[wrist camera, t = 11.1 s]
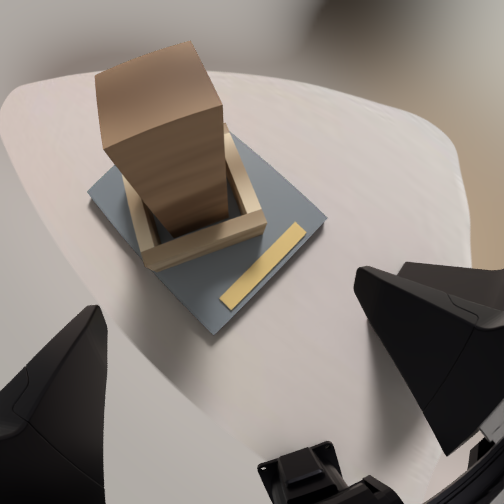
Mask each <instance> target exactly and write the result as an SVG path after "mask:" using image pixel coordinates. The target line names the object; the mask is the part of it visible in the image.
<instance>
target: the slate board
mask: <svg viewBox="0 0 504 504" xmlns="http://www.w3.org/2000/svg"><path fill="white" fill-rule="evenodd" d="M229 132H230V131H229ZM230 134H231V137H232V139H233V141H234V144H235V146H236V148H237V151H238V153H239V155H240V158H241V160H242V162H243V165H244V167H245V170H246V172H247V174H248V177H249V179H250V182H251V184H252V186H253V189H254V191H255V194H256V196H257V198H258V201H259V203H260V206H261V208H262V211H263V213H264V216H265V218H266V221H267V225H266V228H265V230H264V233H263V235H260V236H257V237H254V238H251V239H248V240H246V241H243V242H240V243H237V244H234V245H232V246H229V247H226V248H223V249H220V250H218V251H215V252H212V253H209V254H206V255H204V256H201V257H198V258H195V259H193V260H190V261H187V262H184V263H181V264H179V265H176V266H173V267H170V268H168V269H165V270H162V271H160V272H155V271H153V270H152V271H153V272H154V274H155V275H156V276H157V277H158V278H159V279H160V280H161V281H162V282H163V283H164V285H165V286H166V287H167V288H168V289H169V290H170V291H171V292H172V293H173V294H174V295H175V296H176V297H177V299H178V300H179V301H180V302H181V303H182V304H183V305H184V306H185V307H186V308H187V309H188V310H189V311H190V312H191V313H192V314H193V315H194V316H195V317H196V318H197V319H198V320H199V321H200V322H201V323H202V324H203V325H204V326H205V327H206V328H207V329H208V330H209V331H210V332H211V333H212V334H213V335H215V334H216V333H217V332H218V331H219V330H220V329H221V328H222V327H223V326H224V325H225V324H226V323H227V322H228V321H229V320H230V319H231V318H232V317H233V316H234V315H235V314H236V313H237V312H238V311H239V310H240V309H241V308H242V307H243V306H244V305H245V304H246V303H247V302H248V301H249V300H250V299H251V298H252V297H253V296H254V295H255V294H256V293H257V292H258V291H259V290H260V289H261V288H262V286H263V285H264V284H265V283H266V282H267V281H268V280H269V279H270V278H271V277H272V276H273V275H274V274H275V273H276V272H277V271H278V270H279V269H280V268H281V267H282V266H283V265H284V264H285V263H286V262H287V261H288V260H289V259H290V257H291V256H292V255H293V254H294V253H295V252H296V251H297V250H298V249H299V248H300V247H301V246H302V245H303V244H304V243H305V242H306V241H307V240H308V238H309V237H310V236H311V235H312V234H313V233H314V232H315V231H316V230H317V229H318V228H319V227H320V226H321V225H322V224H323V222H324V221H325V220H326V219H327V217H326V216H325V215H324V214H323V213H322V212H321V211H320V210H319V209H318V208H317V207H316V206H315V205H314V204H313V203H311V202H310V201H309V200H308V199H307V198H306V197H305V196H304V195H303V194H302V193H301V192H300V191H298V190H297V189H296V188H295V187H294V186H293V185H292V184H291V183H290V182H289V181H287V180H286V179H285V178H284V177H283V176H282V175H281V174H280V173H278V172H277V171H276V170H275V169H274V168H273V167H272V166H270V165H269V164H268V163H267V162H266V161H265V160H263V159H262V158H261V157H260V156H259V155H258V154H256V153H255V152H254V151H253V150H252V149H250V148H249V147H248V146H247V145H246V144H244V143H243V142H242V141H241V140H240V139H238V138H237V137H236V136H235V135H233V134H232V133H231V132H230ZM226 181H227V197H228V213H229V218H227V219H224V220H221V221H219V222H216V223H213V224H210V225H208V226H205V227H202V228H200V229H197V230H195V231H192V232H189V233H187V234H184V235H182V236H179V237H176V238H173V237H172V235H171V234H170V233H169V232H168V231H167V229H166V228H165V227H164V226H163V225H162V223H161V222H160V221H159V220H158V218H157V217H156V216H155V215H154V214H153V216H154V220H155V223H156V227H157V230H158V234H159V237H160V241H161V244H164V243H166V242H169V241H172V240H174V239H177V238H180V237H183V236H185V235H188V234H191V233H194V232H196V231H199V230H202V229H205V228H208V227H210V226H213V225H216V224H219V223H222V222H225V221H228V220H230V219H233V218H236V217H239V216H241V213H240V210H239V208H238V205H237V203H236V200H235V197H234V195H233V192H232V190H231V187H230V184H229V182H228V179H227V177H226ZM87 193H88V194H89V195H90V196H91V198H92V199H93V200H94V202H95V203H96V204H97V206H98V207H99V208H100V209H101V211H102V212H103V213H104V214H105V216H106V217H107V218H108V219H109V221H110V222H111V223H112V224H113V226H114V227H115V228H116V229H117V231H118V232H119V233H120V234H121V235H122V237H123V238H124V239H125V240H126V241H127V243H128V244H129V245H130V246H131V247H132V248H133V250H134V251H135V252H136V253H137V254H138V255H139V257H140V258H141V259H142V255H141V252H140V248H139V245H138V241H137V237H136V233H135V229H134V226H133V222H132V217H131V213H130V209H129V205H128V200H127V196H126V191H125V187H124V182H123V177H122V173H121V172H120V171H119V169H118V168H117V167H116V166H115V165H114V166H113V167H112V168H111V169H110V170H109V171H108V172H107V173H106V174H105V175H104V176H102V177H101V178H100V179H99V180H98V181H97V182H96V183H95V184H94V185H93V186H92V187H91V188H90V189H89V190H88V191H87ZM152 213H153V212H152ZM142 260H143V259H142Z"/></svg>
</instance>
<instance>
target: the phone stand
mask: <svg viewBox="0 0 504 504" xmlns="http://www.w3.org/2000/svg"><path fill="white" fill-rule="evenodd" d="M397 276H399V277H402V278H405V279H408V280H411V281H414V282H416V283H419V284H422V285H425V286H428V287H431V288H433V289H436V290H439V291H442V292H445V293H446V294H450V295H453V296H456V297H459V298H462V299H464V300H467V301H471V302H474V303H477V304H480V305H483V306H487V307H490V308H493V309H497V310H500V311H504V269H502V270H492V271H491V270H482V269H472V268H462V267H453V266H443V265H433V264H423V263H413V262H405V263H404V265H403V267H402V268H401V270H400V271H399V273H398V274H397Z"/></svg>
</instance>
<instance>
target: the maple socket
mask: <svg viewBox="0 0 504 504" xmlns="http://www.w3.org/2000/svg"><path fill="white" fill-rule="evenodd" d="M223 125H224V145H225V163H226V177H227V179H228V182H229V184H230V187H231V190H232V192H233V195H234V197H235V200H236V203H237V205H238V208H239V210H240V213H241V216H239V217H236V218H233V219H230V220H228V221H225V222H222V223H219V224H216V225H213V226H210V227H208V228H205V229H202V230H199V231H196V232H194V233H191V234H188V235H185V236H183V237H180V238H177V239H174V240H172V241H169V242H166V243H164V244H161V241H160V237H159V234H158V230H157V227H156V223H155V220H154V216H153V213H152V211H151V210H150V209H149V207H148V206H147V205H146V204H145V202H144V201H143V200H142V199H141V197H140V196H139V195H138V194H137V192H136V191H135V190H134V189H133V187H132V186H131V185H130V184H129V182H128V181H127V180H126V178H125V177H124V176H123V175H122V177H123V182H124V187H125V191H126V196H127V200H128V205H129V209H130V213H131V217H132V222H133V226H134V229H135V233H136V237H137V241H138V245H139V248H140V252H141V255H142V259H143V262H144V266H145V267H146V268H148V269H150V270H153V271H155V272H160V271H162V270H165V269H168V268H170V267H173V266H176V265H179V264H181V263H184V262H187V261H190V260H193V259H195V258H198V257H201V256H204V255H206V254H209V253H212V252H215V251H218V250H220V249H223V248H226V247H229V246H232V245H234V244H237V243H240V242H243V241H246V240H248V239H251V238H254V237H257V236H260V235H263V233H264V230H265V228H266V225H267V221H266V218H265V216H264V213H263V211H262V208H261V206H260V203H259V201H258V198H257V196H256V194H255V191H254V189H253V186H252V184H251V182H250V179H249V177H248V174H247V172H246V170H245V167H244V165H243V162H242V160H241V158H240V155H239V153H238V151H237V148H236V146H235V144H234V141H233V139H232V137H231V134H230V132H229V130H228V127H227V125H226V123H223Z"/></svg>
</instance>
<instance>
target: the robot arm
mask: <svg viewBox="0 0 504 504" xmlns="http://www.w3.org/2000/svg"><path fill="white" fill-rule="evenodd" d="M354 292H355V295H356V297H357V299H358V300H359V302H360V304H361V306H362V308H363V310H364V312H365V314H366V316H367V318H368V320H369V322H370V324H371V326H372V327H373V329H374V331H375V332H376V334H377V335H378V337H379V339H380V340H381V342H382V343H383V345H384V347H385V348H386V350H387V352H388V353H389V355H390V356H391V358H392V360H393V361H394V363H395V365H396V366H397V368H398V370H399V371H400V373H401V375H402V377H403V378H404V380H405V382H406V383H407V385H408V387H409V389H410V390H411V392H412V394H413V396H414V397H415V399H416V401H417V403H418V404H419V406H420V408H421V410H422V411H423V414H424V416H425V417H426V419H427V421H428V423H429V425H430V427H431V429H432V431H433V432H434V434H435V436H436V438H437V440H438V442H439V444H440V446H441V448H442V450H443V452H444V454H445V455H446V456H449V455H450V454H451V453H453V452H454V451H455V450H457V449H458V448H459V447H460V446H461V445H463V444H464V443H465V442H467V441H468V440H469V439H470V438H471V437H473V436H474V435H475V434H476V433H477V432H478V431H479V430H480V431H481V433H482V434H483V435H484V438H483V439H482V440H481V441H480V442H479V443H478V444H477V445H476V446H474V447H473V448H472V449H471V450H470V456H469V463H468V469H467V471H466V472H465V473H463V474H462V475H461V476H460V477H458V478H457V479H456V480H455V481H453V482H452V483H451V484H450V485H448V486H447V487H446V488H444V489H443V490H442V491H441V492H439V493H437V494H436V495H435V496H433V497H432V498H430V499H429V500H428V501H426V502H425V503H423V504H504V311H500V310H497V309H493V308H490V307H487V306H483V305H480V304H477V303H474V302H471V301H467V300H464V299H462V298H459V297H456V296H453V295H450V294H446V293H445V292H442V291H439V290H436V289H433V288H431V287H428V286H425V285H422V284H419V283H416V282H414V281H411V280H408V279H405V278H402V277H399V276H396V275H394V274H391V273H388V272H385V271H382V270H379V269H376V268H373V267H370V266H364V267H359V268H358V269H357V272H356V277H355V282H354ZM107 334H108V330H107V325H106V322H105V319H104V316H103V314H102V311H101V308H100V307H99V306H98V305H90V306H87V307H85V308H84V309H83V310H82V311H81V312H80V313H79V314H78V315H77V316H76V317H75V318H74V319H72V320H71V322H69V323H68V324H67V325H66V326H65V327H64V328H63V329H62V330H61V331H60V332H59V333H58V334H57V335H56V336H55V337H54V338H53V339H51V341H49V342H48V343H47V345H45V346H44V347H43V348H42V350H40V351H39V352H38V353H37V354H36V356H34V357H33V359H32V360H31V361H30V362H29V363H28V364H27V365H26V367H24V368H23V369H22V370H21V371H20V372H19V373H18V374H17V375H16V376H15V377H14V378H13V379H12V380H11V381H10V382H9V383H8V384H7V385H6V386H5V387H4V388H3V389H2V390H1V391H0V504H106V503H105V489H104V472H103V471H104V470H103V430H104V406H105V391H106V380H107ZM327 445H329V447H328V448H325V447H326V446H327ZM263 467H265V468H266V469H264V470H262V469H261V468H263ZM257 469H258V473H259V475H260V477H261V479H262V482H263V484H264V486H265V488H266V491H267V493H268V495H269V497H270V499H271V501H272V503H273V504H404V503H403V502H402V500H401V499H400V497H399V496H398V495H397V494H396V493H395V492H394V491H393V490H392V489H391V488H390V487H388V486H387V485H385V484H383V483H382V482H380V481H378V480H377V479H375V478H374V477H372V476H371V475H368V476H366V477H365V478H363V480H361V481H359V482H357V483H355V484H353V485H351V486H349V487H348V485H347V484H346V483H345V481H344V480H343V477H342V474H341V470H340V467H339V463H338V460H337V456H336V453H335V449H334V446H333V444H332V443H331V442H330V441H325V442H323V443H320V444H318V445H315V446H312V447H310V448H308V447H307V448H304V449H301V450H298V451H295V452H292V453H289V454H286V455H283V456H280V457H279V458H277V459H274V460H271V461H267V462H264V463H261V464H259V465H258V467H257Z"/></svg>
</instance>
